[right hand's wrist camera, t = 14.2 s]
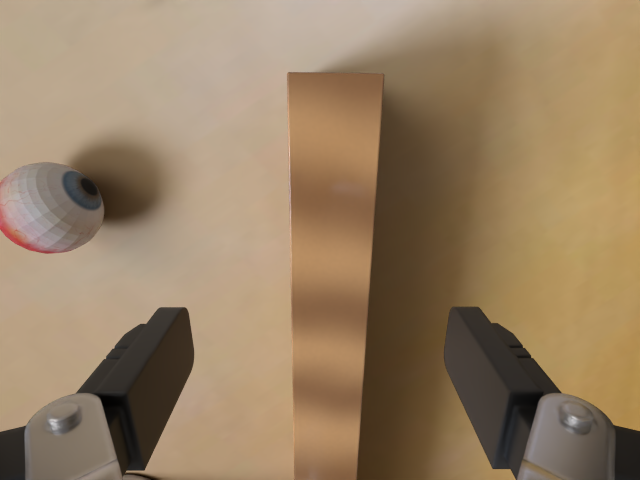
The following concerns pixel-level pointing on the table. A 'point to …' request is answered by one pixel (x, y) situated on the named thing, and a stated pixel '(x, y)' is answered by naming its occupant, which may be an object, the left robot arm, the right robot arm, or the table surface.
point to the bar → (331, 261)
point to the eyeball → (49, 208)
